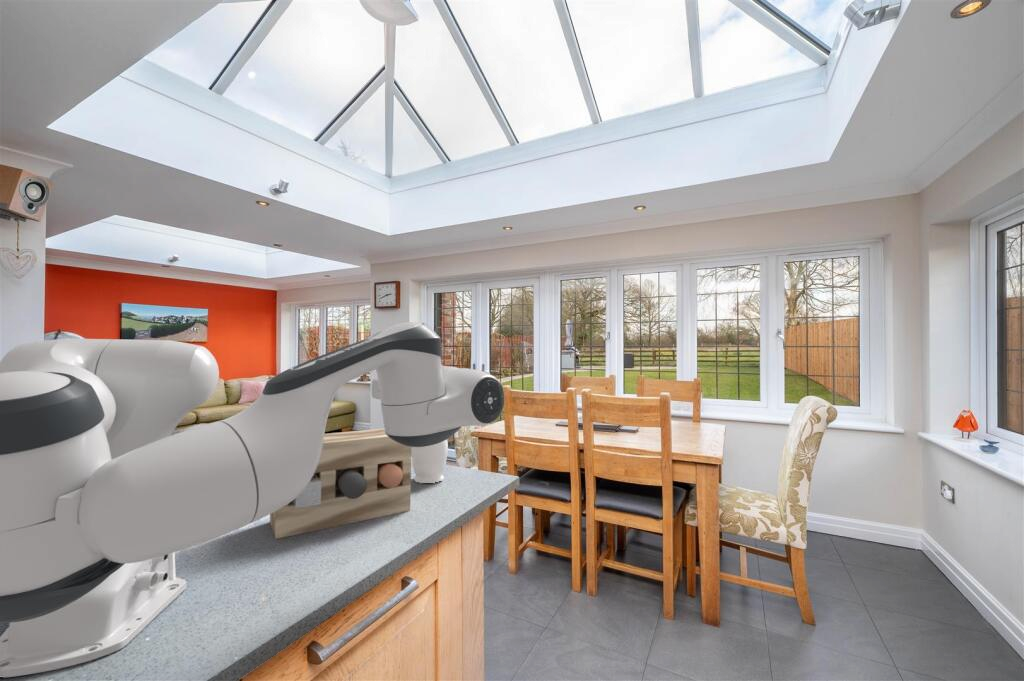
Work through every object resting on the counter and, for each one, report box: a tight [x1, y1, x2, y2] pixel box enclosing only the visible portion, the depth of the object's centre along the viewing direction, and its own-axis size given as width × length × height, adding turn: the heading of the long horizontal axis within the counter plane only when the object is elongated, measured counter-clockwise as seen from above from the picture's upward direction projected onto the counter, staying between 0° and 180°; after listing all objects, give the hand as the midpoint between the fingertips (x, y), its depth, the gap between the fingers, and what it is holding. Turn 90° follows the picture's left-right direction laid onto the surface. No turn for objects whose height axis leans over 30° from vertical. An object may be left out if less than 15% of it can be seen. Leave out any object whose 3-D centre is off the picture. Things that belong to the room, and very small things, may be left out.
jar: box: [411, 439, 449, 484], centre depth 126 cm, size 11×10×15 cm
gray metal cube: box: [292, 475, 321, 508], centre depth 88 cm, size 5×5×5 cm
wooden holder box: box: [269, 427, 412, 540], centre depth 98 cm, size 10×28×18 cm, turn 125°
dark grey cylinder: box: [337, 469, 367, 499], centre depth 93 cm, size 5×5×5 cm
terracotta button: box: [377, 462, 403, 488], centre depth 100 cm, size 5×5×5 cm
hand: (412, 383), depth 89 cm, fingers closed
